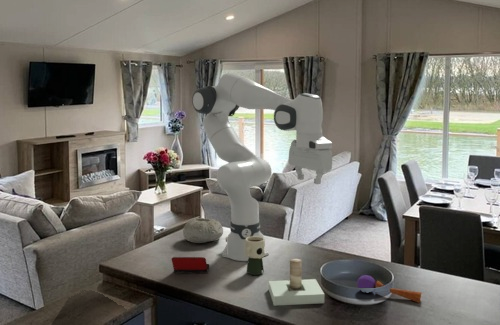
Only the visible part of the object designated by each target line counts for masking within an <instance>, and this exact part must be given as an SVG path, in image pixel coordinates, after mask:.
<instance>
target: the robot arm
mask: <svg viewBox="0 0 500 325" xmlns="http://www.w3.org/2000/svg"><path fill="white" fill-rule="evenodd" d="M191 98H192V100H191V101H192V102H191V103H192V106H193V109H194V110H195V111H196V112H197V113H199V114H202V115H205V116H204V118H203V120H202V126H203V129H204V131H205V134H206V137H207V139H208V141H209V142H210V144H211V146H212V148H213V149H214V151H215V153H216V155H217V157H218V158H220V160H223V161H225V162H227V163H226V164H224V165H221V166H220V167H219V168H218V169H217V172H216V181H217V185H218V186H219V188H221V190H223V191H225V193H226V194H227V197H228V199H229V203H230V213H231V214H230V215H231V218H230V219H231V221H230V226H229V227H230V233H229V234H228V235H227V236H225V242H226V243H227V244H226V245H225V246H224V247H225V248H224V250H223V252H222V254H221V257H224V258H227V259H231V260H233V261H237V262H248V259H249V257H247V256H246V251H245V239H246V238H247V237H251V236H259V237H263V238H264V239H265V236H264V234H263V232H261V221H260V204H259V201H258V200H257V199H256V198H254V197H252V194H251V189H250V188H252V187H256V186H257V187H258V186H261V185H263V184H265V183H266V182H268V181H269V180H270V179H271V177H272V167H271V164H270V163H269V162H268V161H267V160H266V159H263V158H261V157H259V156H257V155H256V154H255V153H254V152H252V151H251V150H250V149H249V148H248V147H247V146H246V145H245V144H244V143H243V141H242V140H241V139H240V137H239V135H238V134H237V132H236V130H235V128H233V126H232V124H231V122H230V120H229V117H233V116H235V114H236V111H238V110H239V108H244V109H246V110H247V109H248V110H271V111H272V110H273V111H274V112H273V122H274V124H275V126H276V127H277V128H278V129H279V130H281V131H286V132H288V131H296V133H295V134H296V135H295V136H296V137H295V138H296V139H293V140H292V141H291V143H290V147H289V151H288V164H289V166H293V167H294V168H295V171H296V174H297V180H300V181H302V180H304V179H305V175H304V173H303V169H307V170H311V171H314V172H315V174H316V177H315V178H314V179H313V184H314V185H321V183H322V178H323V177H324V173H328V172H329V173H330V172H331V170H332V168H333V152H332V150H331V149H333V142H332V141H331V140H329V139H327V138H326V137H325V136H324V135H323V128H322V126H323V121H324V110H323V108H324V107H323V101H322V98H321V96H319V95H317V94H314V93H306V92H304V93H299V94H298V95H297V96H296V97H295V98H294V99H293V98H290V97H288V96H286V95H283V94H280V93H278V92H275V91H274V90H271V89H270V88H268V87H266V86H264V85H262V84H259V83H258V82H255V80H253V79H250V78H248V77H246V76H244V75H242V74H238V73H234V72H227V73H225V74H223V75H221V77H220V78H219V80H218V83H217V85H215V86H212V85H207V86H204V87H203V86H202V87H201V88H198V89H196V90H195V91H194V93H193V94H192V97H191ZM264 250H265V255H264V257H267V256H268V255H270V253H269V251H268V250H267V249H266V248H265V247H264Z"/></svg>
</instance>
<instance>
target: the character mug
mask: <svg viewBox="0 0 500 325" xmlns="http://www.w3.org/2000/svg"><path fill="white" fill-rule="evenodd" d="M265 242H266V240H265V237H264V238H263V237H259V236H251V237H247V238H246V239H245V251H246V256H247V257H249V259H248V261H247V265H246V273H248V274H250V275H254V276H259V275H262V274H263V273H264V271H265V270H264V262H263V257H265V256H264V255H265V250H264V248H265V246H266V243H265Z"/></svg>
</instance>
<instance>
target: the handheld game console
mask: <svg viewBox="0 0 500 325" xmlns="http://www.w3.org/2000/svg"><path fill="white" fill-rule="evenodd" d="M171 263H172V267H173V273H175V274H176V273H177V274H179V273H180V274H183V273H184V274H188V273H193V274H207V273H208V271H209V268H210V263H207V259H206V257H204V256H203V257H201V256H200V257H197V256H196V257H195V256H194V257H193V256H191V257H189V256H185V257H184V256H174V257H172V258H171Z"/></svg>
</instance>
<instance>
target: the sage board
mask: <svg viewBox="0 0 500 325" xmlns="http://www.w3.org/2000/svg"><path fill="white" fill-rule="evenodd" d="M301 285H302V288H301V291H290V279H289V280H288V279H287V280H268V291H269V295H270V298H271V301H272V305H273V306H274V307H275V306H276V307H277V306H292V305H311V304H312V305H313V304H325V293H324V291H323V289H322V288H321V286H320V285H319V283H318V280H317V279H316V278H310V279H302V284H301Z"/></svg>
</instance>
